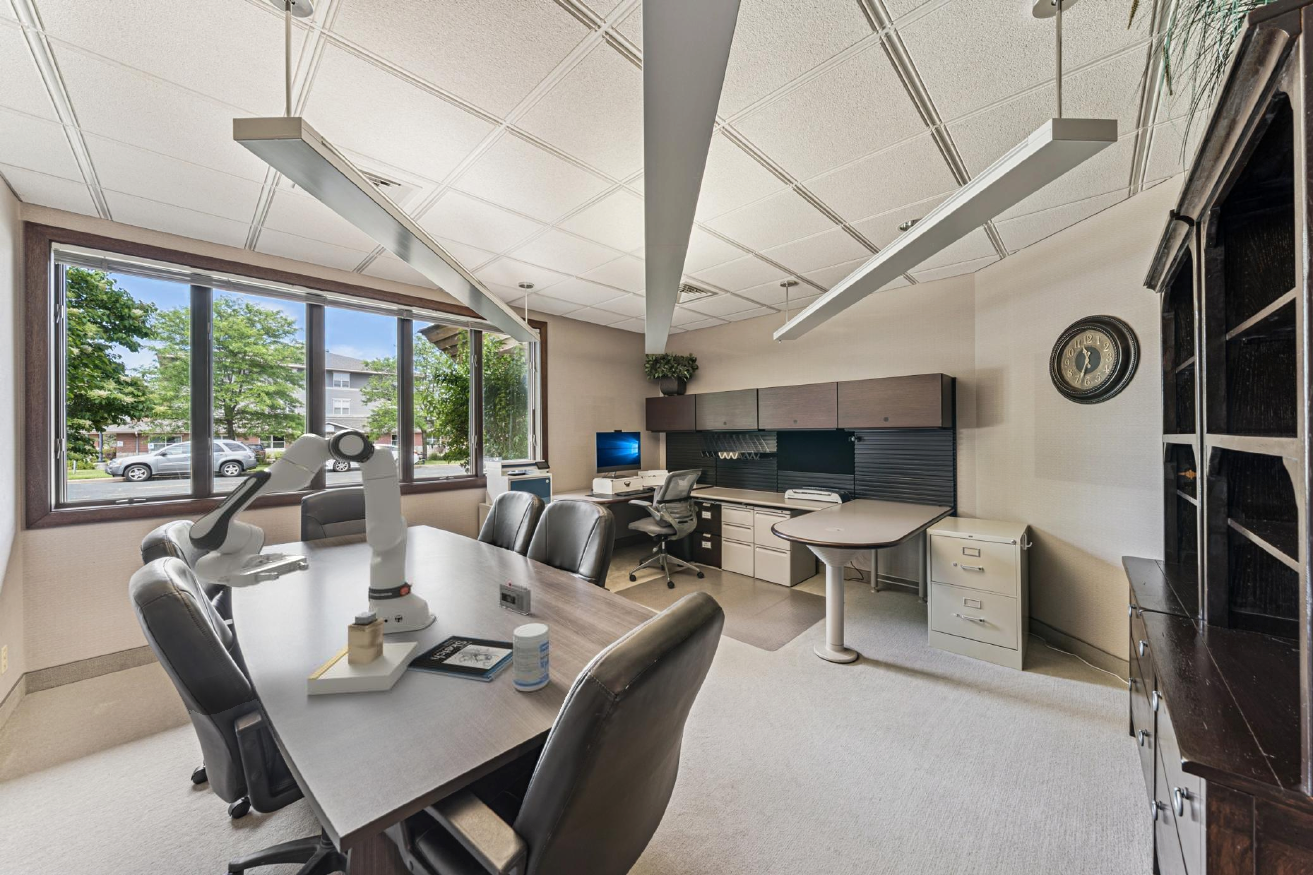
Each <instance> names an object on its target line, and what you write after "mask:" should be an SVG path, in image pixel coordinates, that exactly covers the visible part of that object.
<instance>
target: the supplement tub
mask: <svg viewBox="0 0 1313 875" xmlns="http://www.w3.org/2000/svg"><path fill="white" fill-rule="evenodd" d="M512 642H513V662H512V670H513V671H512V676H513V677H512V678H513V679H512V680H513V686H514V687H515V689H516V690H518V691H521V692H535V691H538V690H540V689H542V688H544V687H545V686H546V685H547V684H548V683H549V681H550V632H549V627H548V626H547V625H546V624H543V623H538V622H536V623H535V622H533V623H527V624H526V623H525V624H523V625H520V626H518V627H516V628H515V629H514V631H513V636H512Z"/></svg>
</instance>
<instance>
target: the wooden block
mask: <svg viewBox="0 0 1313 875" xmlns="http://www.w3.org/2000/svg"><path fill="white" fill-rule="evenodd" d="M383 644H384V634H383V618H376V621H375V622H373V623H371V624H370V625H368V626H360V625H355V622H352V623H350V624H348V625H347V646H348V663H352V664H365V665H368V664H369V663H371V662H372V661H374V660H375V659H377V658H379V657H380V656H382V655H383Z"/></svg>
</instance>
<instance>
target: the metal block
mask: <svg viewBox="0 0 1313 875" xmlns="http://www.w3.org/2000/svg"><path fill="white" fill-rule="evenodd" d="M354 621H355V625H360V626H368V625H370V624H371V623H373V622H375V621H376V613H374V612H368V611H364V612H362V613H360V614H358V615H356V616H354Z"/></svg>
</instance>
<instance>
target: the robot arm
mask: <svg viewBox="0 0 1313 875" xmlns="http://www.w3.org/2000/svg"><path fill="white" fill-rule="evenodd" d="M330 460H333V461H334V460H335V461H337V462H343V463H356V464H357V465H358V467H359V470H360V473H361V479H362V488H363V494H364V501H365V502H364V503H365V511H364V512H365V513H364V514H365V534H366V535H365V539H366V542H367V545H368V546H369V547H370V548H371V557H370V562H369V586H368V591H367V592H368V594H367V598H368V611H367V612H374V613H376V618H383V635H386V634H395V633H403V632H411V631H418V630H422V629H425V628H427V627H428V626H429V625H430V626H431V624H432V623H433V622H434V621H435V619H436V616H437V615H436V613H435V612H430V609H429V604H428V602H427V601H426V600H425V599H423V598H422V597H419V595H417V594H415V593H413V592H412V587H413V583H410V584H409V583H408V582H407V581H406V558H407V545H408V544H407V542H408V541H407V540H408V523H407V522H408V521H407V519H406V518H405V516H403V515H402V501H401V500H402V494H401V488H400V480H399V475H398V474H399V473H398V467H397V463H396V459H395V457H394V455H393V452H392V450H391V449H390V448H388V447H385V446H380V445H378V446H377V445H374V444H373V443H372V442H371V441H370V439H368V437H367V436H366V435H365V434H364V433H362V432H361V431H359V430H356V429H342V430H339V431H337V432H336V433H334V434H333V435H331V436H329V437H322V436H320V435H318V434H314V433H305V434H302V435H300V436H299V437H298V438H297V439H296V440H294V441H293V442H292V443H291V444H289V446H287V448H286V449H285V450H284V451H283V452H282V453H281V455H280V456H279V457H278V458H277V460H276V461H275V462H272V464H270V466H269V465H268V466H267V467H266V468H264V469H258V470H256V471H255V472H253V473H252V474H250V475H249V476H247V477H246V479H244V480H243V481H242V482H241V483H240V484H239V485H238V486H236V487H235V489H233V490H232V491H231V492H230V493H229V494H228V495H227V496H226V497H225V498H224V499H223V500H222V501H219V502H220V503H218V504H217V505H216V506H215V507H214V508H213V509H212V510H210V511H209V512H208V513H206V514H205V515H203V516H202V517H200V518H199V519H197V521H196V522H194V523H193V524H192V526H191V527H190V528H189V533H188V538H189V541H190V544H191V546H192V547H193V548H194V549H196V550H198V551H207V552H209V553H208V554H206V555H203V556H201V557H200V558H198V560H196V562H195V564H194V568H193V570H194V573H195V574H194V575H196V577H197V578H198V579H199V580H201V581H202V582H205V583H209V584H217V585H225V586H227V587H230V588H237V589H238V588H239V589H240V588H242V589H243V588H247V587H254V586H257V585H259V584H261V583H264V582H267V581H270V582H271V581H272V582H273V581H276V580H279V579H280V577H282V576H285V575H288V574H291V573H295V572H298V571H300V572H304V571H307V570H309V569H310V564H309V563H308V558H307V556H306V555H301V554H300V555H299V554H283V552H279V551H278V552H271V553H265V554H264V553H263V554H262V553H261V552H262V551H263V548H264V546H265V542H266V534H265V531H264V529H263V528H262V527H259V526H256V525H254V524H250V523H247V522H243V521H241V520H236V518H237V517H238V516H239V515H240V514H241V513H242V512H243V511H244V510H245V509H246V508H247V507H248V506H249V505H250V504H251V503H253V501H254V500H256V498H258V497H260V496H263V495H265V494H270V493H291V492H296V491H299V490H303V489H304V488H305V487H306V486H307V485H308V484H309V483H310V482H311V481H312V480H313V478H314V477H315V476H316V474H317V473H318V472H319V471H320V469H321V468H322V466H323V465H324V464H325V463H326V462H328V461H330Z"/></svg>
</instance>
